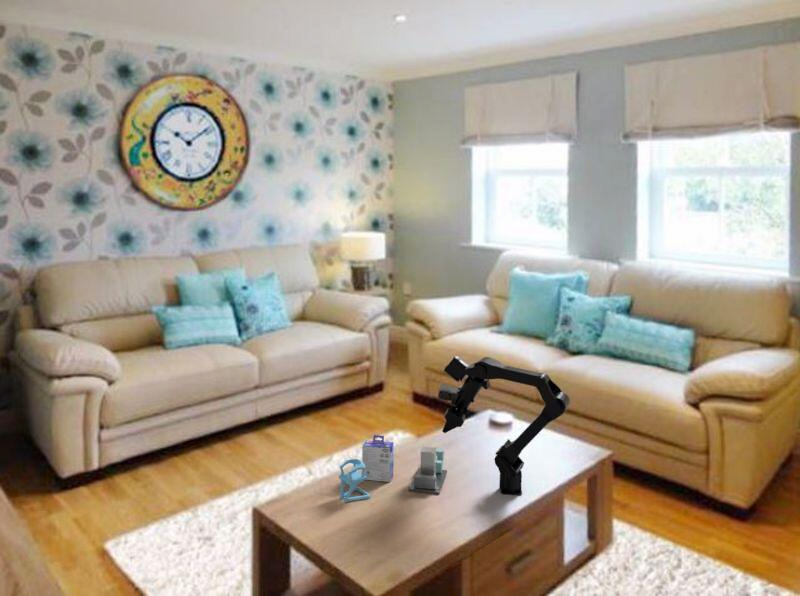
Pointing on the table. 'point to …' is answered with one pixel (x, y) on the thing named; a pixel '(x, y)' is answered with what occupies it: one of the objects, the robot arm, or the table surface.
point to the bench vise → (427, 482)
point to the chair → (352, 480)
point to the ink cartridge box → (378, 459)
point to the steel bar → (428, 461)
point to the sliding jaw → (439, 460)
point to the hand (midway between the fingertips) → (445, 425)
